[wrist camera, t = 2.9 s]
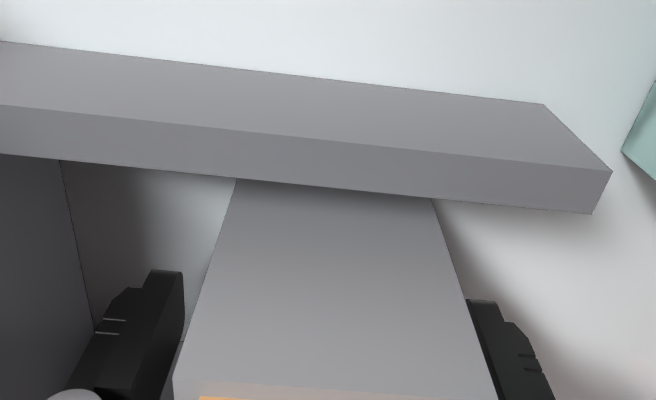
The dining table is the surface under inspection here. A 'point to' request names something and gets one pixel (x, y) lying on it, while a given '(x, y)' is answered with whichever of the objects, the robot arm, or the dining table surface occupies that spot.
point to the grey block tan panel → (330, 303)
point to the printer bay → (234, 165)
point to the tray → (644, 136)
